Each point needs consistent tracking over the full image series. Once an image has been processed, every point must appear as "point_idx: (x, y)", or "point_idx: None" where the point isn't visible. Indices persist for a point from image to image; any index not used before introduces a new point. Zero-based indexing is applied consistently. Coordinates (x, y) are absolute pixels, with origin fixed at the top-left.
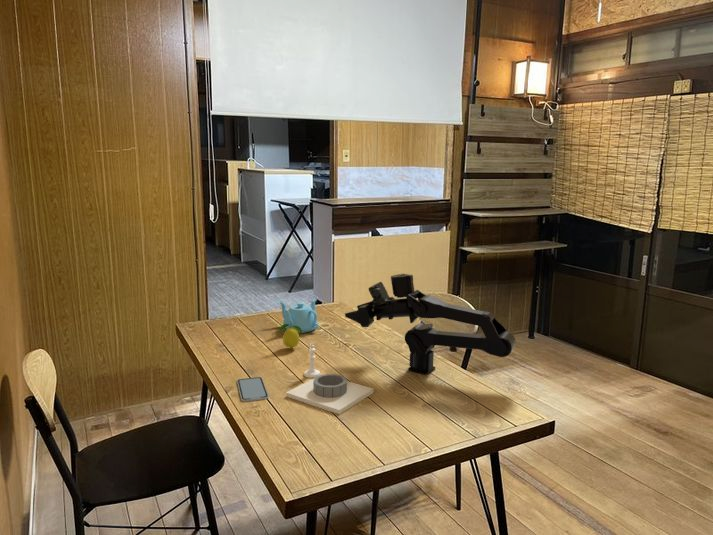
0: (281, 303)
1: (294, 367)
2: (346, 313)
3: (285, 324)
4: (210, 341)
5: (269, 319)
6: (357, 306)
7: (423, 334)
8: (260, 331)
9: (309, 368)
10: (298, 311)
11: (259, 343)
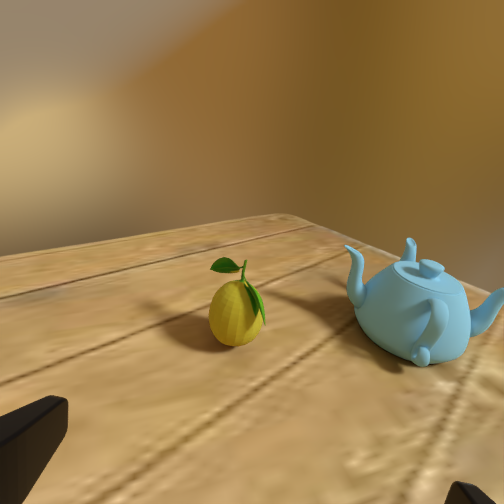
0: (406, 245)
1: (39, 386)
2: (23, 408)
3: (230, 260)
4: (228, 235)
5: None
6: (454, 488)
7: None
8: (320, 275)
9: None
10: (396, 278)
11: None
